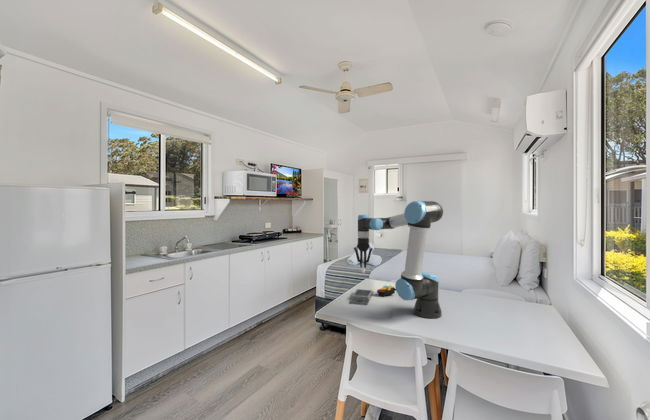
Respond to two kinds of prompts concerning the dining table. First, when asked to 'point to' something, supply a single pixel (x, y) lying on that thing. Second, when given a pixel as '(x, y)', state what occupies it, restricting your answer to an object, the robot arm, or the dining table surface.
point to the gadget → (386, 290)
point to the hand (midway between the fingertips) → (363, 272)
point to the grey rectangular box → (361, 297)
